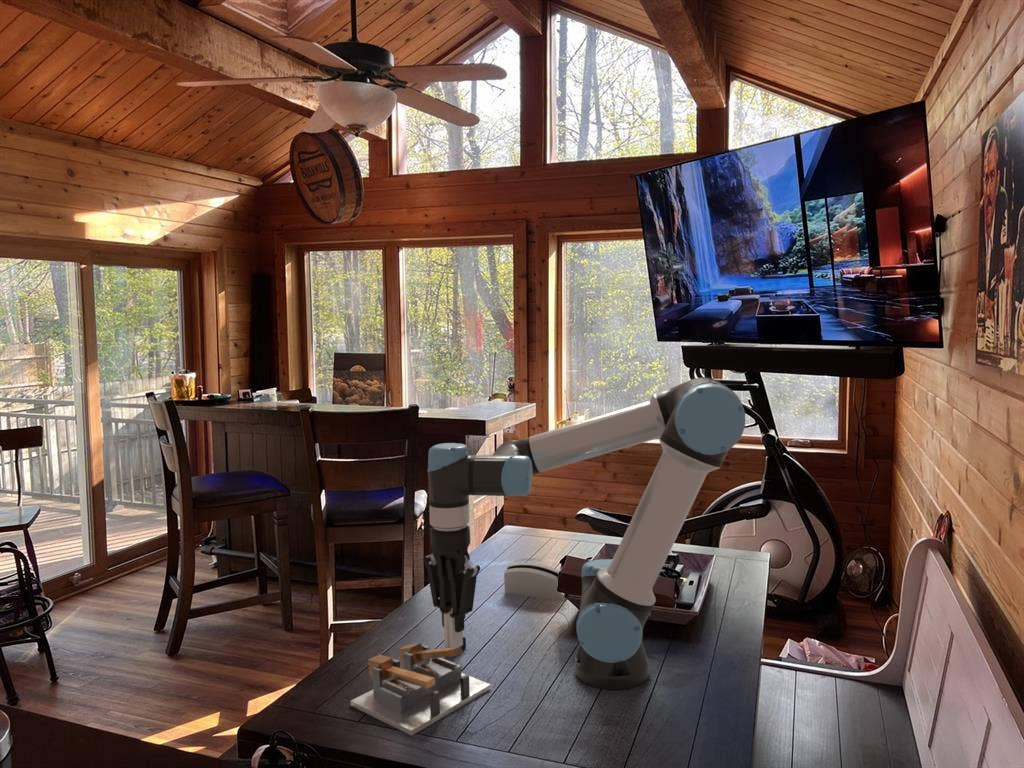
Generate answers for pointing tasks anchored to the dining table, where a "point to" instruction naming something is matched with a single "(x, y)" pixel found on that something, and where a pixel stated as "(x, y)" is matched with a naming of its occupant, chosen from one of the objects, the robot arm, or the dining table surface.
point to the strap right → (427, 652)
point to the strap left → (399, 672)
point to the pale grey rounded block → (532, 581)
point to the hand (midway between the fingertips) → (453, 645)
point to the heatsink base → (421, 710)
